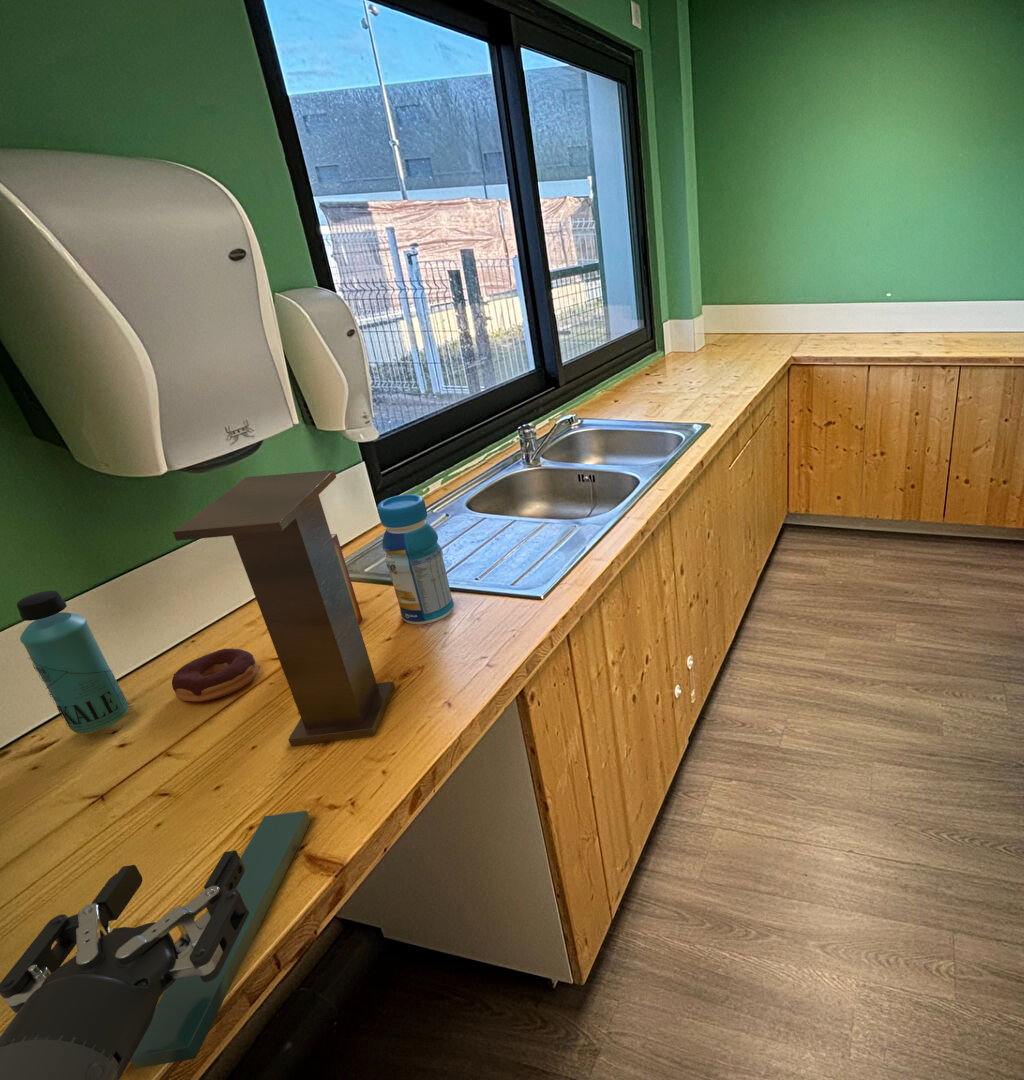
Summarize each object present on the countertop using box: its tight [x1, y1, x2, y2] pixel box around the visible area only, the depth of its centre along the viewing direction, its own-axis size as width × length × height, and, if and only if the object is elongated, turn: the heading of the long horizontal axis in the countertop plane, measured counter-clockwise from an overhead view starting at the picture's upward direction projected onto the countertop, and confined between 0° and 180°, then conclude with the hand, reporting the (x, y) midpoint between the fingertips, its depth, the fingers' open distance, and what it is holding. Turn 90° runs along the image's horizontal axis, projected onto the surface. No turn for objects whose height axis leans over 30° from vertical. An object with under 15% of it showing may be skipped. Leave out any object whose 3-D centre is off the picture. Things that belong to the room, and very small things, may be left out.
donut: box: [171, 648, 260, 703], centre depth 99 cm, size 10×10×4 cm
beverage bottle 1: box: [16, 590, 130, 734], centre depth 88 cm, size 6×7×20 cm
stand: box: [172, 469, 396, 747], centre depth 84 cm, size 16×10×32 cm, turn 8°
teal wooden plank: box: [130, 810, 312, 1069], centre depth 65 cm, size 24×4×2 cm, turn 8°
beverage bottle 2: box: [377, 493, 455, 625], centre depth 112 cm, size 8×8×20 cm
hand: (185, 864), depth 59 cm, fingers open, 7 cm apart
